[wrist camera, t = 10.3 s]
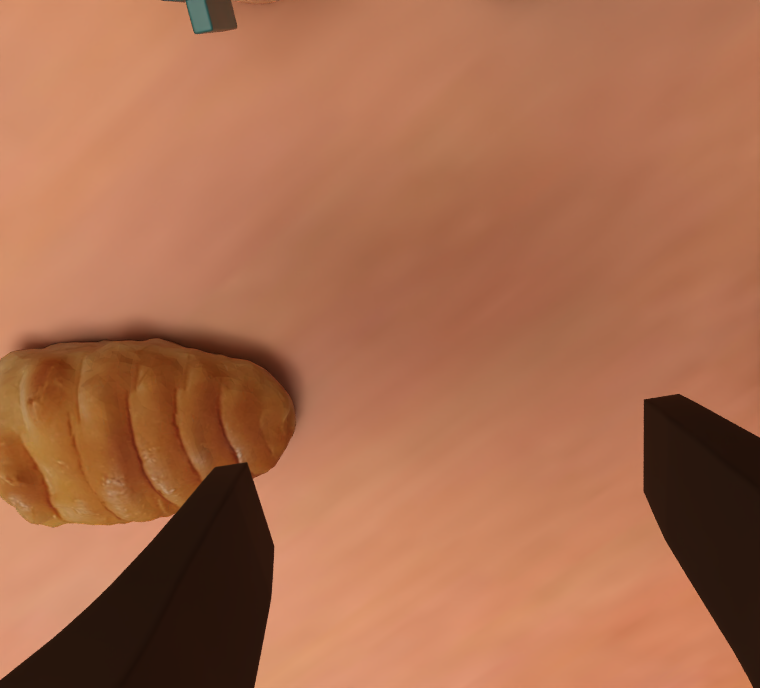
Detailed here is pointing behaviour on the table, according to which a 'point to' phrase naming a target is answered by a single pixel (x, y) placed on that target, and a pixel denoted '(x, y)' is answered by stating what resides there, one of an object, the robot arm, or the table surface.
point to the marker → (214, 14)
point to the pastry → (130, 427)
